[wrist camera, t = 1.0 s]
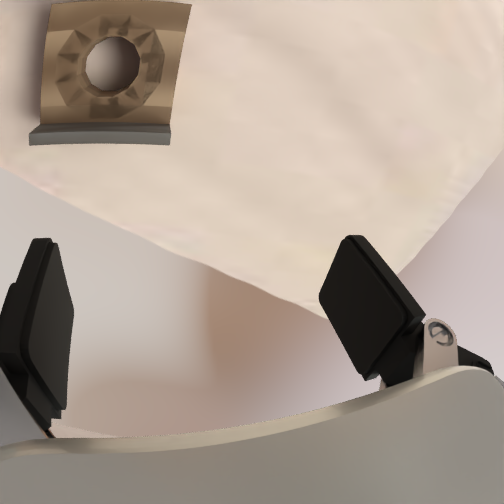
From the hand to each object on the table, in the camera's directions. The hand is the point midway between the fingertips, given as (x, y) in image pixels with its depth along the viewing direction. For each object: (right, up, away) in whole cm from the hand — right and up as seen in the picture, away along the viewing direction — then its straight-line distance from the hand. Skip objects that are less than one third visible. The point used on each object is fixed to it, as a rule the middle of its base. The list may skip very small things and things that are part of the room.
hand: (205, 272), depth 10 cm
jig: (-11, +18, +13) cm, 25 cm away
